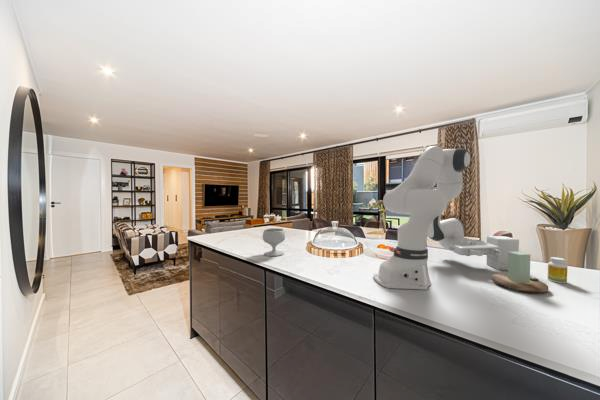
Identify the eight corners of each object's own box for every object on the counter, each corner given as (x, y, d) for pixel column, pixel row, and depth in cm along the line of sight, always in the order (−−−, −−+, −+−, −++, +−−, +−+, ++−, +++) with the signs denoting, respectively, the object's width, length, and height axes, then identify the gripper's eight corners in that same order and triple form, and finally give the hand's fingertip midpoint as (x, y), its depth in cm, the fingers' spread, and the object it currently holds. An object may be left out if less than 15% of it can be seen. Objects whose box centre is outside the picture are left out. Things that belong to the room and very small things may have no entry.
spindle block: (519, 283, 87) (519, 254, 86) (507, 278, 91) (508, 251, 91) (529, 282, 87) (530, 254, 87) (517, 278, 91) (518, 251, 91)
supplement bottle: (546, 277, 97) (547, 255, 97) (565, 280, 94) (565, 258, 94) (548, 281, 93) (549, 258, 93) (568, 284, 90) (569, 261, 90)
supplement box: (519, 271, 106) (520, 239, 105) (497, 269, 108) (498, 238, 107) (505, 265, 115) (506, 236, 114) (485, 264, 116) (486, 235, 116)
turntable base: (520, 293, 82) (520, 291, 82) (488, 280, 95) (488, 278, 95) (552, 292, 83) (552, 290, 83) (516, 278, 96) (516, 277, 96)
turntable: (521, 293, 80) (521, 288, 80) (481, 276, 96) (481, 272, 96) (561, 291, 82) (561, 286, 82) (516, 275, 98) (516, 271, 98)
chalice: (258, 253, 139) (258, 229, 138) (276, 250, 148) (276, 227, 148) (271, 258, 129) (271, 232, 128) (290, 254, 138) (289, 229, 138)
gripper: (446, 241, 114) (469, 247, 100) (484, 240, 115) (511, 246, 102) (446, 253, 114) (468, 261, 100) (483, 252, 115) (511, 260, 102)
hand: (490, 253), depth 101 cm, fingers open, 8 cm apart
